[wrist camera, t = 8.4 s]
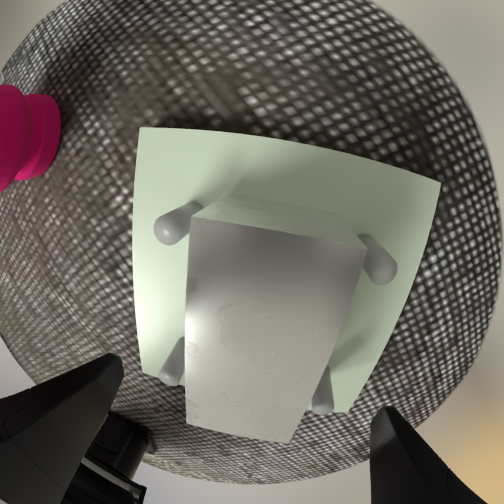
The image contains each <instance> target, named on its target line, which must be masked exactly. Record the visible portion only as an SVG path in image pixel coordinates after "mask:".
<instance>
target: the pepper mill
mask: <svg viewBox="0 0 504 504" xmlns="http://www.w3.org/2000/svg"><path fill="white" fill-rule="evenodd" d="M60 134H61V116H60V110H59V107H58V105H57V103H56V101H55V100H54V99H53V98H52V97H50V96H48V95H41V94H27V95H25V96H24V95H23V94H22V92H21V91H20V90H19V89H18V88H17V87H15V86H13V85H0V192H2V191H3V190H5V189H6V188H7V187H8V186H9V185H10V184H11V182H12V181H13V180H14V179H16V180H24V179H29V178H34V177H38V176H40V175H41V174H43V173H44V172H45V171H46V170H47V169H48V167H49V166H50V164H51V163H52V161H53V159H54V157H55V154H56V151H57V148H58V145H59V140H60Z"/></svg>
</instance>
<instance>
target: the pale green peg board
mask: <svg viewBox="0 0 504 504" xmlns="http://www.w3.org/2000/svg"><path fill="white" fill-rule="evenodd" d="M440 186H441V183H440V182H438V181H435V180H432V179H430V178H427V177H424V176H421V175H418V174H416V173H413V172H410V171H407V170H404V169H401V168H397V167H394V166H391V165H388V164H384V163H381V162H378V161H374V160H370V159H367V158H363V157H359V156H356V155H352V154H348V153H344V152H340V151H335V150H331V149H327V148H322V147H317V146H312V145H308V144H302V143H297V142H292V141H286V140H280V139H274V138H268V137H261V136H254V135H246V134H238V133H229V132H219V131H208V130H195V129H177V128H140V133H139V141H138V149H137V159H136V170H135V183H134V200H133V283H134V300H135V313H136V324H137V334H138V342H139V350H140V358H141V365H142V371H143V373H145V374H148V375H151V376H154V377H157V378H160V380H161V381H162V382H163V383H165V384H167V385H169V386H177V385H178V384H179V385H183V386H185V309H186V283H187V264H188V249H189V235H190V223H191V216H192V215H194V214H195V213H197V212H199V211H200V210H202V209H204V208H205V207H207V206H209V205H210V204H212V203H214V202H215V201H217V200H219V199H220V198H222V197H224V196H226V195H227V194H234V195H241V196H247V197H253V198H259V199H265V200H271V201H276V202H282V203H287V204H293V205H298V206H303V207H308V208H313V209H318V210H323V211H328V212H333V213H337V214H339V215H340V217H341V218H342V219H343V220H344V221H345V222H346V223H347V225H348V226H349V227H350V228H351V229H352V230H353V232H354V233H355V234H356V235H357V236H358V238H359V239H360V240H361V241H362V242H363V244H364V245H365V246H366V247H367V248H368V250H367V253H366V257H365V260H364V264H363V267H362V270H361V274H360V277H359V280H358V283H357V286H356V289H355V292H354V295H353V298H352V301H351V304H350V307H349V310H348V312H347V315H346V318H345V321H344V323H343V326H342V329H341V331H340V334H339V336H338V339H337V342H336V344H335V347H334V349H333V351H332V354H331V356H330V359H329V361H328V363H327V366H326V368H325V370H324V373H323V375H322V377H321V379H320V381H319V384H318V386H317V388H316V390H315V392H314V394H313V396H312V399H311V401H310V403H309V405H308V407H307V409H306V410H312V412H313V413H315V414H318V415H324V414H328V413H330V412H346V413H347V412H348V411H349V409H350V408H351V406H352V405H353V403H354V402H355V400H356V398H357V397H358V395H359V393H360V392H361V390H362V388H363V387H364V385H365V383H366V382H367V380H368V378H369V376H370V375H371V373H372V371H373V369H374V367H375V365H376V364H377V362H378V360H379V358H380V356H381V354H382V352H383V350H384V348H385V346H386V344H387V342H388V340H389V338H390V336H391V334H392V332H393V330H394V327H395V325H396V323H397V321H398V318H399V316H400V314H401V312H402V309H403V307H404V304H405V302H406V300H407V297H408V295H409V292H410V289H411V287H412V284H413V281H414V279H415V276H416V273H417V270H418V267H419V264H420V262H421V258H422V255H423V252H424V249H425V246H426V243H427V239H428V236H429V232H430V229H431V225H432V221H433V217H434V213H435V209H436V205H437V201H438V196H439V191H440Z"/></svg>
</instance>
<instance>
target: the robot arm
mask: <svg viewBox="0 0 504 504" xmlns="http://www.w3.org/2000/svg"><path fill="white" fill-rule="evenodd" d="M123 377H124V369H123V364H122V359H121V357H120V356H119V355H116V354H114V353H107V354H105V355H103V356H101V357H99V358H96V359H94V360H92V361H90V362H88V363H86V364H83V365H81V366H79V367H77V368H75V369H72V370H70V371H68V372H66V373H63V374H61V375H59V376H57V377H54V378H52V379H50V380H47V381H45V382H43V383H40V384H38V385H36V386H34V387H31V389H30V388H29V389H26V390H24V391H21V392H19V393H16V394H14V395H11V396H8V397H5V398H1V399H0V504H143V500H144V496H145V493H146V489H147V488H146V487H145V486H143V485H139V484H137V483H135V482H133V481H132V479H133V477H134V475H135V472H136V470H137V468H138V466H139V464H140V462H141V460H142V457H143V455H144V453H145V452H146V453H149V454H152V455H154V453H155V449H154V446H153V442H152V439H151V435H150V432H149V430H148V429H147V428H145V427H143V426H140V425H138V424H135V423H133V422H130V421H128V420H125V419H123V418H121V417H118V416H116V415H114V414H112V413H110V412H109V410H110V408H111V405H112V403H113V401H114V398H115V396H116V393H117V391H118V389H119V387H120V384H121V382H122V380H123ZM101 424H102V425H101ZM100 426H101V427H100ZM97 431H98V432H97ZM370 477H371V504H487V503H486V502H485V501H484V500H482V499H481V498H480V497H479V496H478V495H476V494H475V493H474V492H473V491H472V490H471V489H470V488H468V487H467V486H466V485H465V484H464V483H463V482H462V481H461V480H460V479H459V478H458V477H457V476H456V475H455V474H454V473H453V472H452V471H451V469H450V468H448V466H447V465H446V464H445V463H444V462H443V461H442V459H441V458H440V457H439V456H438V455H437V454H436V453H435V452H434V451H433V449H432V448H431V447H430V446H429V445H428V444H427V443H426V442H425V441H424V440H423V438H422V437H421V436H420V435H419V434H418V433H417V432H416V431H415V429H414V428H413V427H412V426H411V425H410V424H409V423H408V422H407V421H406V420H405V418H404V417H403V416H402V415H401V414H400V413H399V412H398V411H397V410H396V408H395V407H393V406H383V407H381V408H380V410H379V411H378V412H377V414H376V415H375V416H374V418H373V419H372V421H371V434H370Z"/></svg>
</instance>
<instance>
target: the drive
mask: <svg viewBox="0 0 504 504" xmlns="http://www.w3.org/2000/svg"><path fill="white" fill-rule="evenodd" d="M367 250H368V248H367V247H366V246H365V245H364V244H363V242H362V241H361V240H360V239H359V238H358V236H357V235H356V234H355V233H354V232H353V230H352V229H351V228H350V227H349V226H348V225H347V223H346V222H345V221H344V220H343V219H342V218H341V217H340V215H339V214H337V213H333V212H328V211H323V210H318V209H313V208H308V207H303V206H298V205H293V204H287V203H282V202H276V201H271V200H265V199H259V198H253V197H247V196H241V195H234V194H227V195H226V196H224V197H222V198H220V199H219V200H217V201H215V202H214V203H212V204H210V205H209V206H207V207H205V208H204V209H202V210H200V211H199V212H197V213H195V214H194V215H192V216H191V223H190V235H189V249H188V264H187V283H186V309H185V398H186V422H187V424H191V425H194V426H198V427H202V428H206V429H210V430H214V431H218V432H222V433H227V434H232V435H237V436H242V437H248V438H254V439H260V440H267V441H274V442H282V443H289V441H290V439H291V437H292V436H293V434H294V432H295V430H296V428H297V426H298V424H299V422H300V421H301V419H302V417H303V415H304V413H305V411H306V409H307V407H308V405H309V403H310V401H311V399H312V396H313V394H314V392H315V390H316V388H317V386H318V384H319V381H320V379H321V377H322V375H323V373H324V370H325V368H326V366H327V363H328V361H329V359H330V356H331V354H332V351H333V349H334V347H335V344H336V342H337V339H338V336H339V334H340V331H341V329H342V326H343V323H344V321H345V318H346V315H347V312H348V310H349V307H350V304H351V301H352V298H353V295H354V292H355V289H356V286H357V283H358V280H359V277H360V274H361V270H362V267H363V264H364V260H365V257H366V253H367Z"/></svg>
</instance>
